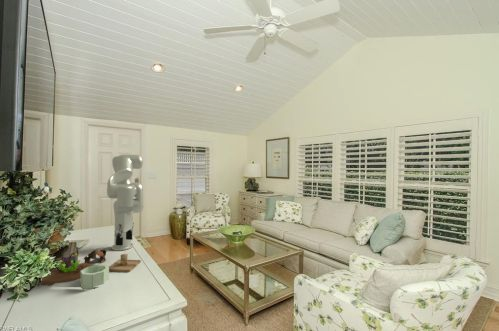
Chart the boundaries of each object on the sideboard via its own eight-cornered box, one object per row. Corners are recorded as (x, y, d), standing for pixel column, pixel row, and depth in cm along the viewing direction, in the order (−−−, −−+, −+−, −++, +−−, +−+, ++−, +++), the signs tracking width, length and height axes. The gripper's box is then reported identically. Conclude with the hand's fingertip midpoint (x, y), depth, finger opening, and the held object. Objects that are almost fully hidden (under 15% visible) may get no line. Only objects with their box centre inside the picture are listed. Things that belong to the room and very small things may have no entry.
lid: (118, 261, 133) (118, 250, 132) (140, 262, 133) (140, 251, 132) (105, 271, 121) (105, 259, 120) (129, 272, 121) (129, 259, 120)
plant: (80, 285, 110) (81, 260, 110) (31, 287, 106) (32, 262, 106) (100, 266, 129) (100, 245, 129) (59, 268, 126) (60, 246, 126)
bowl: (90, 277, 116) (91, 264, 116) (112, 278, 116) (112, 264, 116) (75, 289, 105) (75, 274, 105) (99, 289, 105) (99, 274, 105)
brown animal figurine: (100, 268, 128) (91, 255, 126) (86, 274, 129) (77, 262, 128) (114, 254, 139) (106, 242, 138) (101, 260, 141) (93, 248, 139)
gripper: (126, 206, 135) (125, 237, 135) (108, 212, 118) (107, 247, 117) (139, 206, 135) (139, 237, 135) (123, 212, 118) (122, 247, 117)
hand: (124, 242), depth 126 cm, fingers open, 9 cm apart
